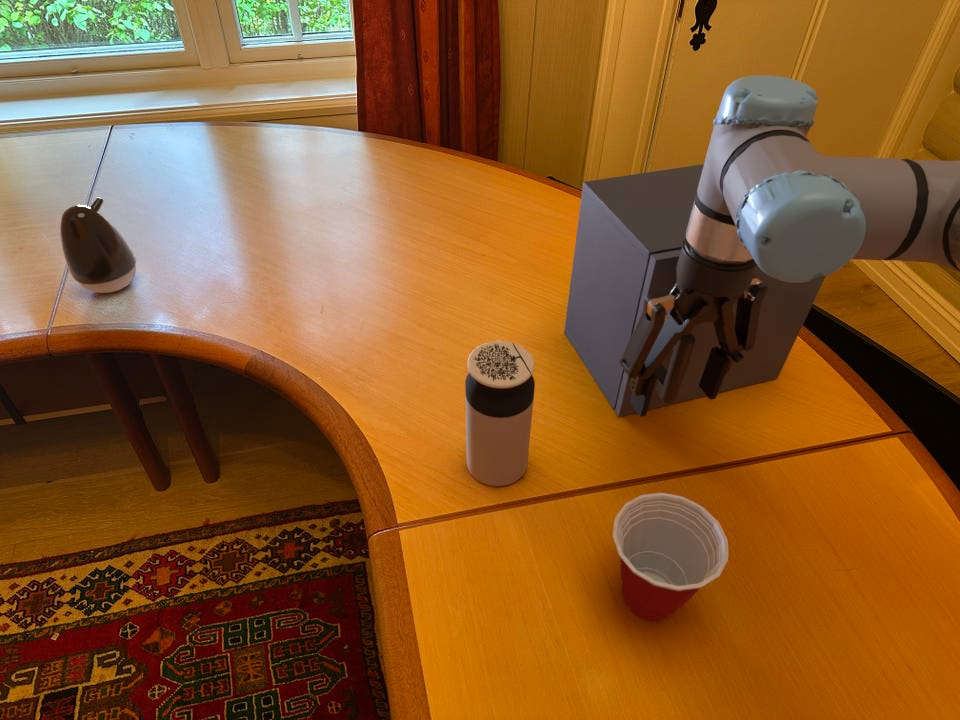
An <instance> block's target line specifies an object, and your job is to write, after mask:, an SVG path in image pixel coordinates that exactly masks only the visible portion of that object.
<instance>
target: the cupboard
mask: <svg viewBox="0 0 960 720" xmlns="http://www.w3.org/2000/svg"><path fill="white" fill-rule="evenodd" d="M703 166H704V163H702V164H696V165H688V166H681V167H676V168H675V167H674V168H669V169H661V170H654V171H648V172H641V173H634V174H627V175H620V176H615V177H607V178H600V179H599V178H598V179H594V180H593V179H592V180H587V181H583V183H582V190H581V198H580V205H579V211H578V212H579V213H578V221H577V227H576V228H577V229H576V237H575V245H574V253H573V260H572V266H571V268H572V269H571V275H570V276H571V277H570V283H569V291H568V299H567V307H566V315H565V322H564V323H565V324H564V332H563V333H564V335H565V336H566V338H567V339H568V341H569V342H570V344H571V346H572V347H573V349H574V350H575V352H576V354H577V355H578V357H579V359H581V361H582V363H583V364H584V366H585V368H586V369H587V371H588V373H589V374H590V375H591V377H592V378H593V380H594V382H595V383H596V385H597V386H598V388H599V390H600V391H601V393H602V394H603V396H604V397H605V399H606V401H607V402H608V404H609V405H610V407H611V408H612V410H613V411H615V409H616V405H617V400H618V396H619V392H620V387H621V383H622V379H623V374H624V369H623V368H622V366H621V365H620V363H619V361H620V359H621V357H622V355H623V353H624V350H625V348H626V346H627V344H628V342H629V340H630V338H631V336H632V334H633V331H634V326H635V322H636V317H637V313H638V309H639V304H640V300H641V296H642V291H643V287H644V283H645V278H646V274H647V269H648V265H649V261H650V256H651V255H652V254H658V253H663V252H669V251H675V250H680V249H681V248H682V244H683V241H684V240H685V238H686V230H687V226H688V223H689V219H690V215H691V212H692V208H693V204H694V200H695V197H696V194H697V189H698V185H699V182H700V178H701V174H702V170H703Z"/></svg>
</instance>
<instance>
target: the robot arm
mask: <svg viewBox="0 0 960 720" xmlns="http://www.w3.org/2000/svg"><path fill="white" fill-rule="evenodd" d="M818 104H819V97H818V93H817V92H816V91H815V89H813V88H812V87H811V86H810V85H809V84H807V83H805V82H802V81H801V80H796V79H793V78H790V77H785V76H780V75H779V76H778V75H768V74H767V75H766V74H765V75H763V74H761V75H760V74H759V75H758V74H756V75H748V76H743V77H741V78H738V79H736V80H734V81H732V82H731V83H730V84H729V85H728V86H727V88H726V89H725V90H724V93H723V95H722V98H721V102H720V104H719V106H718V110H717V113H716V116H715V118H714V119H713V121H712V125H713V128H712V131H711V136H710V138H709V139H710V140H709V143H708V147H707V151H706V155H705V159H704V163H703V164H704V166H703V170H702V174H701V178H700V182H699V185H698V189H697V194H696V197H695V200H694V204H693V208H692V212H691V215H690V219H689V223H688V226H687V230H686V238H685V240H684V241H683V244H682V248H681V252H680V256H679V259H678V263H677V268H676V272H677V282H676V284H675V286H674V287H673V289H672V290H671V291H670V293H669V295H667V296H664V297H660V298H656V297H655V296H654V295H653V294H649V295H647V296H646V297H645V299H644V306H643V313H642V315H641V317H640V319H639V321H638V323H637V325H636V328H635V330H634V332H633V334H632V336H631V338H630V340H629V342H628V344H627V346H626V348H625V350H624V353H623V355H622V357H621V359H620V361H619V363H620V365H621V366H622V368H623V369H624V371H625V372H626V373H627V375H628V376H629V378H631V381H630V385H629V386H630V389H631V390H632V391H633V392H632V396H631V400H630V403H631V404H632V406H633V407H634V409H635V410H636V412H637V413H636V414H637V415H638V417H640V418H643V417H646V416H647V414H648V411H649V410H648V407H649V403H650V400H651V396H652V393H653V389H654V386H655V382H656V379H657V378H656V376H655V375H654V374H653V373H654V371H655V370H656V369H657V367H658V366H659V365H660V364H661V362H662V361H663V360H664V359H665V357H666V356H667V355H668V354H669V352H670V351H671V350H672V349H673V347H674V346H675V345H676V344H677V342H678V341H679V340H680V339H681V337H682V336H683V335H688V334H689V333H690V332H691V331H692V329H693V328H694V327H695V326H696V325H699V324H701V323H703V322H713V323H714V327H715V331H716V335H717V339H718V342H719V345H720V346H721V349H719V348H718V347H713V348H712V349H711V352H710V355H709V358H708V360H707V363H706V366H705V369H704V372H703V375H702V377H701V380H700V383H699V387H700V388H701V389H702V390H703V392H704V393H705V394H706V395H707V396H706V397H707V398H708V399H709V401H712V400H713V401H714V400H716V399H717V396H718V395H719V393H718V392H719V389H720V386H721V384H722V381H723V379H724V376H725V375H727V373H728V372H729V371H730V367H731V365H732V363H733V361H734V362H735V363H738V362H740V361H742V360H743V358H744V356H743V355H742V354H741V353H740V352H741V351H743V350H745V351H747V352H748V351H751V350H752V349H753V348H754V346H755V340H756V334H757V327H758V321H759V314H760V308H761V303H762V301H763V299H764V297H765V295H766V293H767V291H768V287H767V286H766V285H765V284H764V283H763V282H762V281H760V280H759V279H758V278H757V277H756V276H755V275H754V274H755V272H756V269H757V266H759V268H760V269H761V270H762V271H763V272H765V273H766V274H767V275H769V276H770V277H773V278H775V279H777V280H780V281H784V282H791V283H802V282H809V281H810V280H811V279H814V278H817V277H820V276H826V277H828V276H830V275H832V274H834V273H836V272H838V271H839V270H841V269H842V268H844V267H845V266H846V265H847V264H848V263H849V262H850V261H852V260H862V261H863V260H864V261H884V262H885V261H895V262H897V261H899V262H915V263H929V264H935V265H940V266H943V267H945V268H947V269H950V270H952V271H955V272H957V273H959V274H960V160H937V159H933V160H932V159H909V158H893V157H892V158H891V157H890V158H889V157H862V156H861V157H860V156H831V155H830V156H828V155H823V154H820V153H819V151H818V150H817V149H816V147H815V146H814V145H813V144H812V142H810V140H809V138H807V136H808V133H809V131H810V129H811V128H812V127H813V126H814V123H815V121H814V119H815V114H816V111H817V107H818ZM737 300H738V301H737ZM736 301H737V310H736V318H735V319H734V314H733V310H732V308H733V304H734V303H735V302H736ZM678 315H679V316H680V317H681V318H682V319H683V320H684V321H685V322H684V323H683V322H682V321H681V320H680V319H679V318H678ZM734 321H735V327H734V324H733V322H734Z"/></svg>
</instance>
